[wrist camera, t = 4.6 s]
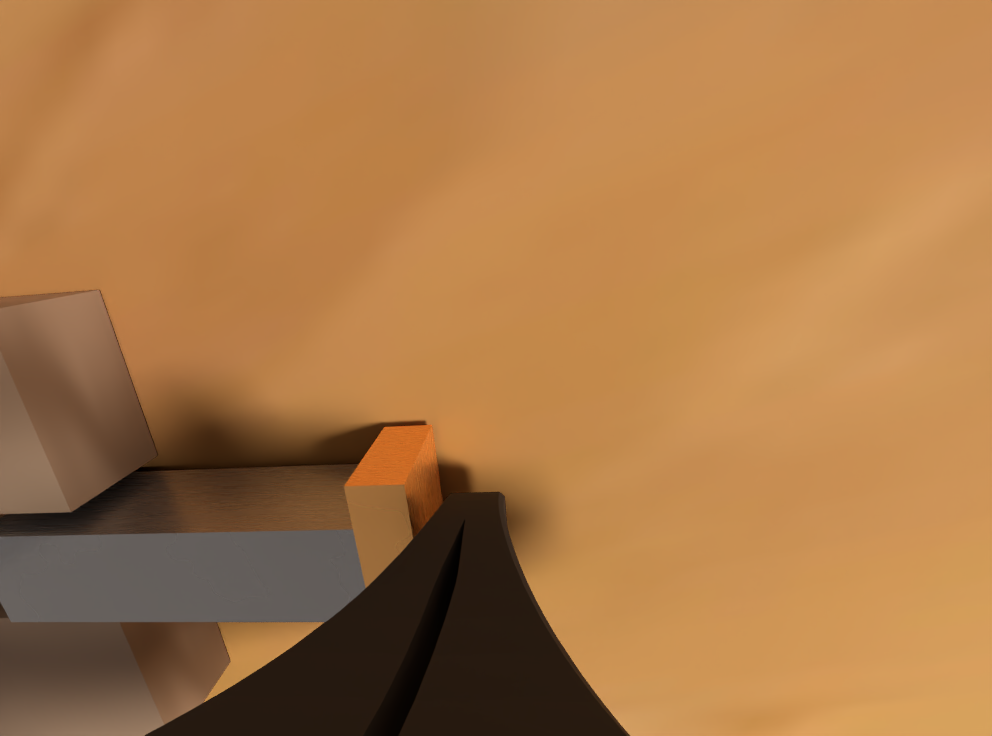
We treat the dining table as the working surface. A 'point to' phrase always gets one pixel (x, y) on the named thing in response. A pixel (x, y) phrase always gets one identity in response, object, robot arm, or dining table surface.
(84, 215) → the dining table surface
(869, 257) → the dining table surface
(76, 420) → the socket block
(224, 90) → the dining table surface
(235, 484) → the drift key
